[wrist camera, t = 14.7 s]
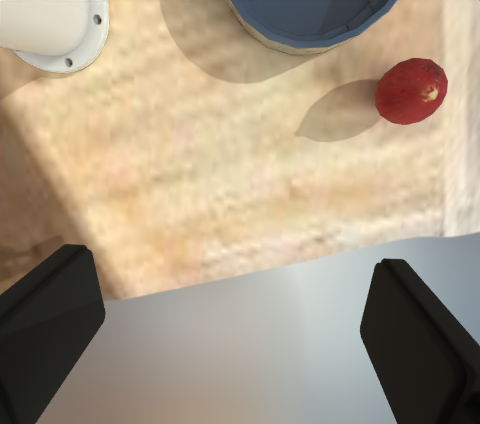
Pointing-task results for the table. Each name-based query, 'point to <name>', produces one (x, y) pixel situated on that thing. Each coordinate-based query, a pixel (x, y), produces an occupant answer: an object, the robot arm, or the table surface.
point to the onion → (411, 91)
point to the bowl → (307, 22)
